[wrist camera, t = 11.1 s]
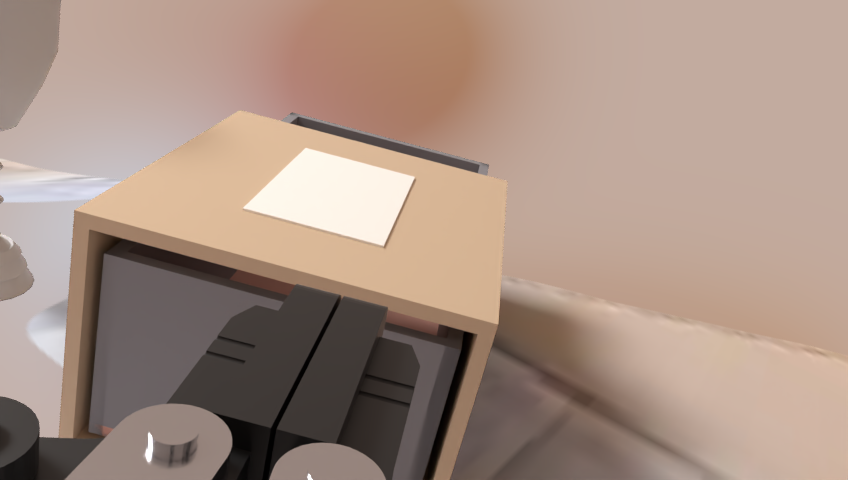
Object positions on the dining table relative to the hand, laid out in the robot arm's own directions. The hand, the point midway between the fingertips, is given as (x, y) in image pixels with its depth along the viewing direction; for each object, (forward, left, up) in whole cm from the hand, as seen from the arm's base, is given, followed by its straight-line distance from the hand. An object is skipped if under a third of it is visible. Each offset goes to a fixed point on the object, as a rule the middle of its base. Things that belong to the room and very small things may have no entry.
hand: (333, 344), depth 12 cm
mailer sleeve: (0, -24, -17) cm, 29 cm away
